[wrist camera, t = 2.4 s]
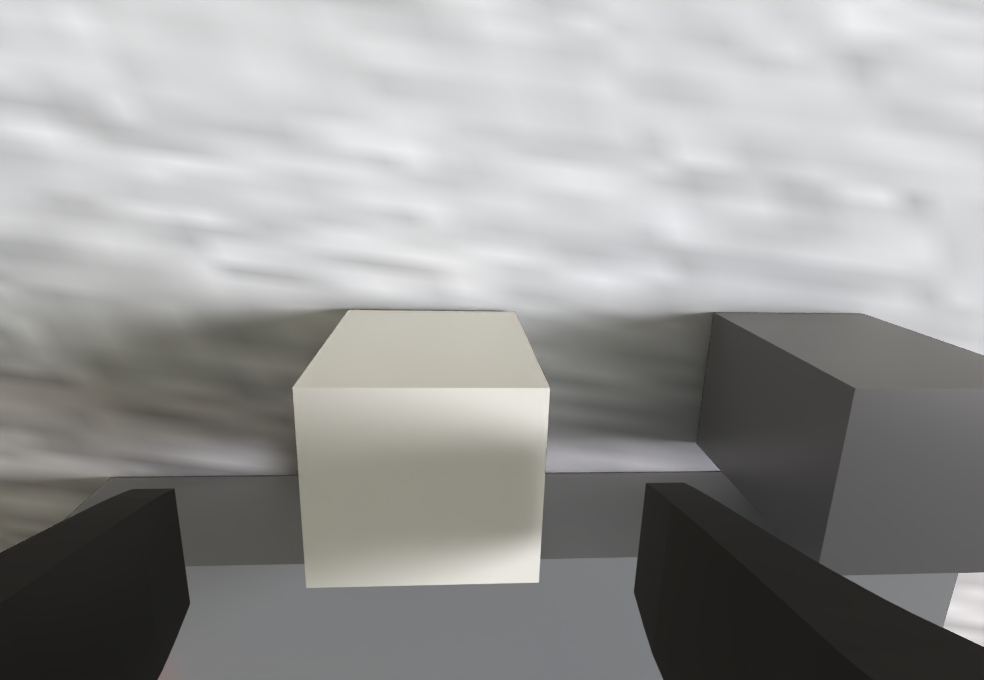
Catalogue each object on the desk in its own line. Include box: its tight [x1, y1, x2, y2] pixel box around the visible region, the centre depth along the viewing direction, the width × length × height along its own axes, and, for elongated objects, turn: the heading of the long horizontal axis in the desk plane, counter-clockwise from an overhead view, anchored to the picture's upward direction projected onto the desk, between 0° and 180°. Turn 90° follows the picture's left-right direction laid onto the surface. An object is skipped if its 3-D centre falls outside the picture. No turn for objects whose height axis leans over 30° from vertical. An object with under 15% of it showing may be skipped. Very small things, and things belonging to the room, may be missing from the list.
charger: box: [292, 310, 550, 588], centre depth 14 cm, size 7×4×6 cm, turn 179°
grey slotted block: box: [63, 312, 984, 680], centre depth 14 cm, size 10×28×6 cm, turn 88°
